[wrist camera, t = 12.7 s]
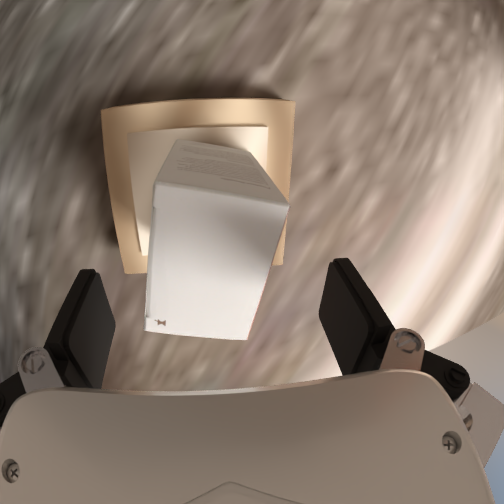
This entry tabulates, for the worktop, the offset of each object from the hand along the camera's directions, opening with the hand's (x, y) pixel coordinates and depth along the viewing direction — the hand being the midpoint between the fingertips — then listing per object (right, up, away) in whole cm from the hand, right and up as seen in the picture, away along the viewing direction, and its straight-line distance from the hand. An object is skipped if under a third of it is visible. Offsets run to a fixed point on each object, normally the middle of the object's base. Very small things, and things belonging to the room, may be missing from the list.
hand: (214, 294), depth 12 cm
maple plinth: (-3, +8, +13) cm, 16 cm away
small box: (-2, +6, +10) cm, 12 cm away
